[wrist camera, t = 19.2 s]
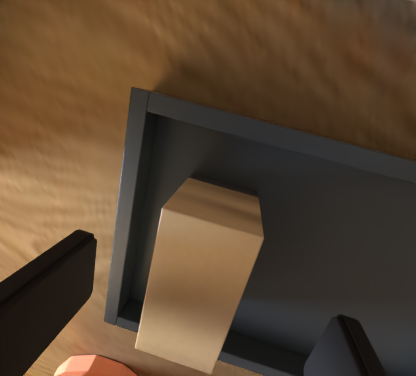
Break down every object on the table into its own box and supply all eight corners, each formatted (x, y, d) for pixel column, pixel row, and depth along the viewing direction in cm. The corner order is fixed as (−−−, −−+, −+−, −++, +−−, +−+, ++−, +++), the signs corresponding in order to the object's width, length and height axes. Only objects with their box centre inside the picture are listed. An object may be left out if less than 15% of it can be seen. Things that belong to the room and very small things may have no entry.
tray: (572, 201, 10) (649, 223, 8) (406, 389, 15) (431, 432, 13) (150, 90, 12) (130, 86, 10) (120, 296, 16) (103, 321, 14)
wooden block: (191, 172, 12) (161, 207, 8) (258, 191, 12) (264, 238, 7) (167, 278, 14) (134, 349, 10) (222, 296, 14) (211, 375, 10)
